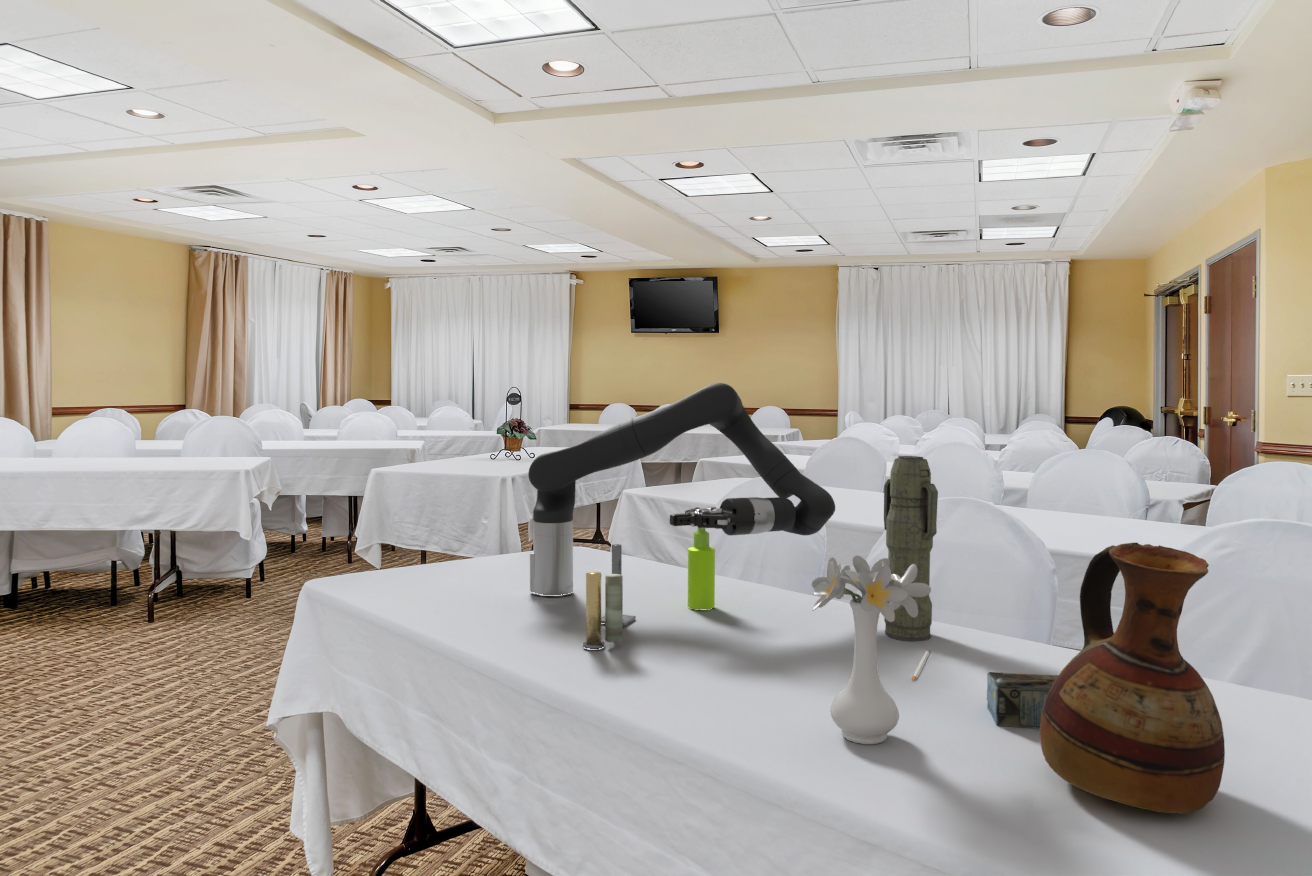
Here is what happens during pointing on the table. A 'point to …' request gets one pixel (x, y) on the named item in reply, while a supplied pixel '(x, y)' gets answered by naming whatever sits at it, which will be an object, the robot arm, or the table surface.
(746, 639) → the table surface
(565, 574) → the robot arm
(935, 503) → the thermos
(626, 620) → the hinge post
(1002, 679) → the beverage carton
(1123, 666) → the ceramic pitcher
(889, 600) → the flower vase
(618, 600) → the gate
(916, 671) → the pencil
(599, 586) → the post
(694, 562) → the soap dispenser
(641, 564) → the table surface
